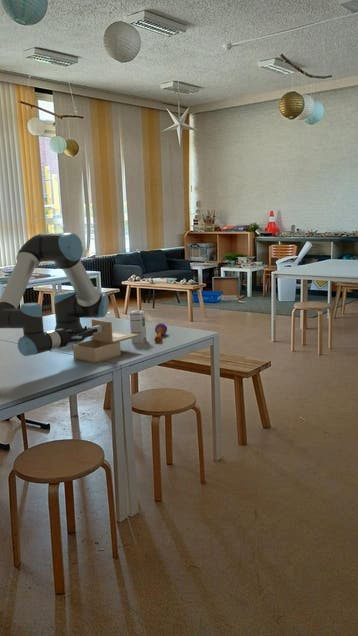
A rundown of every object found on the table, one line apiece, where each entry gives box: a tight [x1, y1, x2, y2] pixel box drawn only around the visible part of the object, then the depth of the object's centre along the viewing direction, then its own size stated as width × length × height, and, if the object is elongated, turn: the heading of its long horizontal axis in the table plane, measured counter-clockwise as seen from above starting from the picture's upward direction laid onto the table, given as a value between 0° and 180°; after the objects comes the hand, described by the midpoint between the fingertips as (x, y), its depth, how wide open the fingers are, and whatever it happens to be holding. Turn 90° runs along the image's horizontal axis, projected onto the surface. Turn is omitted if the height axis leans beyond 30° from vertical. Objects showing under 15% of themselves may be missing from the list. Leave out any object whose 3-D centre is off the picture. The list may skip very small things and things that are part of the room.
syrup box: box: [128, 309, 147, 344], centre depth 266 cm, size 6×6×14 cm
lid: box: [90, 318, 138, 343], centre depth 248 cm, size 15×15×9 cm
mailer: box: [72, 339, 122, 364], centre depth 241 cm, size 14×14×6 cm
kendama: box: [154, 322, 168, 344], centre depth 272 cm, size 6×6×20 cm
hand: (100, 328), depth 242 cm, fingers closed
